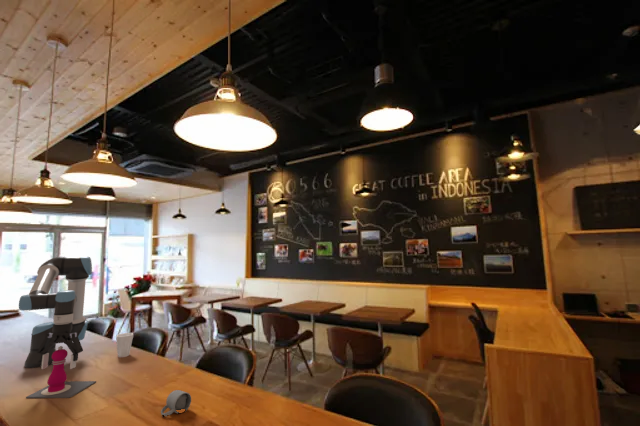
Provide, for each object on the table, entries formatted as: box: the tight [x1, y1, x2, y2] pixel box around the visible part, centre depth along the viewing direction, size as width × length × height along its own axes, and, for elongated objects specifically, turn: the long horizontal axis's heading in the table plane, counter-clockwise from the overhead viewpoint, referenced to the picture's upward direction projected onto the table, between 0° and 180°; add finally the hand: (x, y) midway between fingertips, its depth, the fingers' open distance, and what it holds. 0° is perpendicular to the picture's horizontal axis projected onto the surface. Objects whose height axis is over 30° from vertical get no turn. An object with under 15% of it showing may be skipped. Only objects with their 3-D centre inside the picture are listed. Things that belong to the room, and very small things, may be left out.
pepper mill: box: [47, 345, 69, 392], centre depth 151 cm, size 7×7×20 cm
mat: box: [25, 380, 97, 399], centre depth 151 cm, size 20×17×1 cm
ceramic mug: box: [160, 389, 192, 417], centre depth 131 cm, size 11×8×8 cm
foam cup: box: [116, 332, 134, 358], centre depth 201 cm, size 10×9×13 cm
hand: (58, 368), depth 151 cm, fingers open, 13 cm apart
